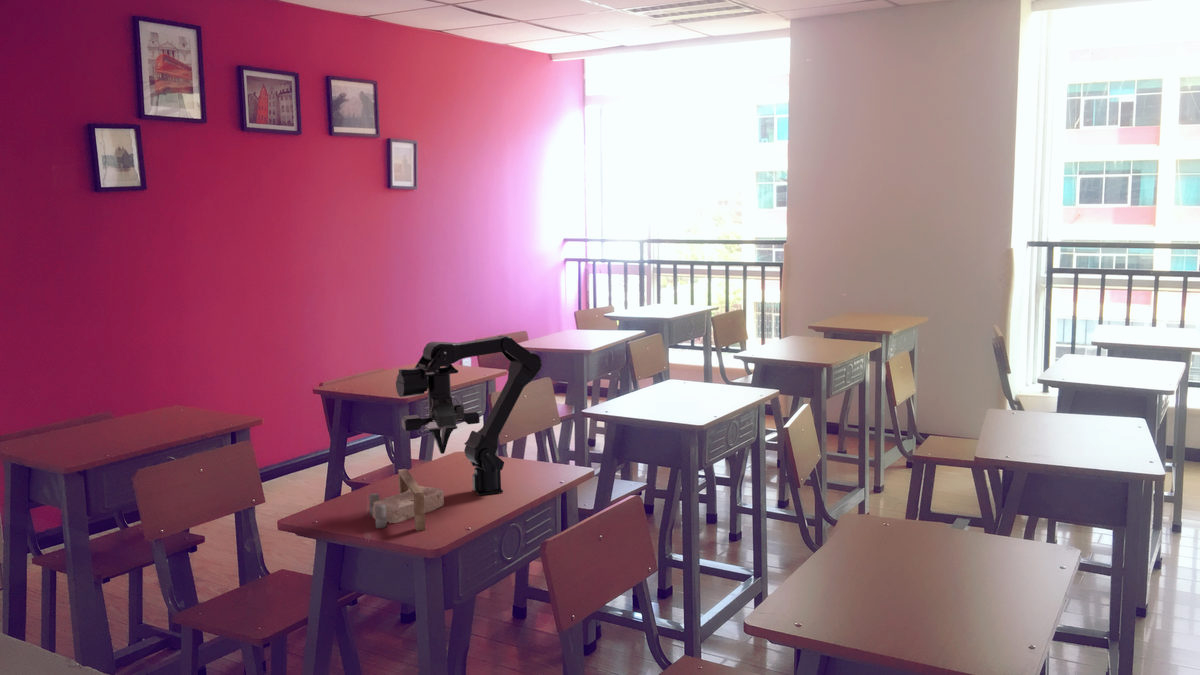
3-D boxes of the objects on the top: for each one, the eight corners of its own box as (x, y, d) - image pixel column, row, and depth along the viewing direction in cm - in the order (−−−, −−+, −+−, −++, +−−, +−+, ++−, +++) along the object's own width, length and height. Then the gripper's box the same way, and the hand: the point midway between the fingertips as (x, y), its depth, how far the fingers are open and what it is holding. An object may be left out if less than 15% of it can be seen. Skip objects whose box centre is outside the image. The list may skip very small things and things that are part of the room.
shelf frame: (408, 503, 234) (406, 468, 233) (425, 529, 213) (423, 492, 212) (366, 508, 230) (364, 473, 229) (379, 536, 209) (378, 497, 208)
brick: (394, 525, 218) (393, 505, 217) (370, 519, 222) (369, 500, 222) (445, 507, 231) (445, 489, 230) (422, 502, 236) (421, 484, 235)
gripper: (408, 401, 222) (411, 465, 224) (484, 393, 229) (486, 455, 231) (399, 393, 233) (402, 455, 235) (472, 387, 240) (475, 446, 242)
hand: (442, 453), depth 235 cm, fingers closed
